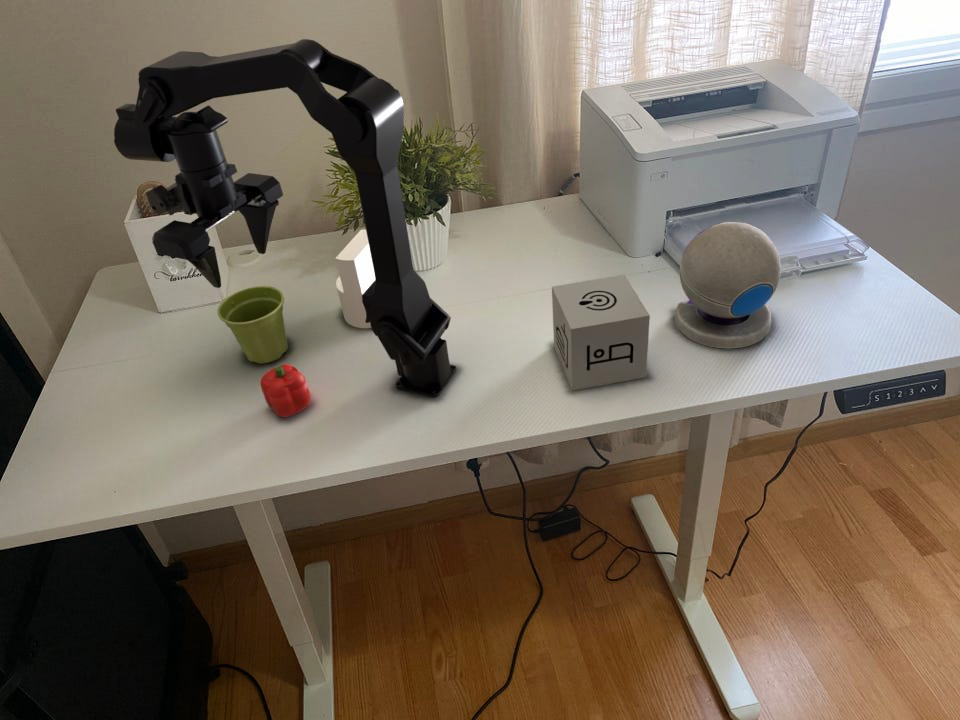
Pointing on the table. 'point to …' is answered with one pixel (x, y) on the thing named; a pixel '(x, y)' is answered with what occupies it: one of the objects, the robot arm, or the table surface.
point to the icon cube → (600, 331)
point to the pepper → (285, 390)
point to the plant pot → (256, 322)
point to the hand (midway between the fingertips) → (240, 269)
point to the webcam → (728, 285)
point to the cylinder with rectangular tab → (355, 279)
